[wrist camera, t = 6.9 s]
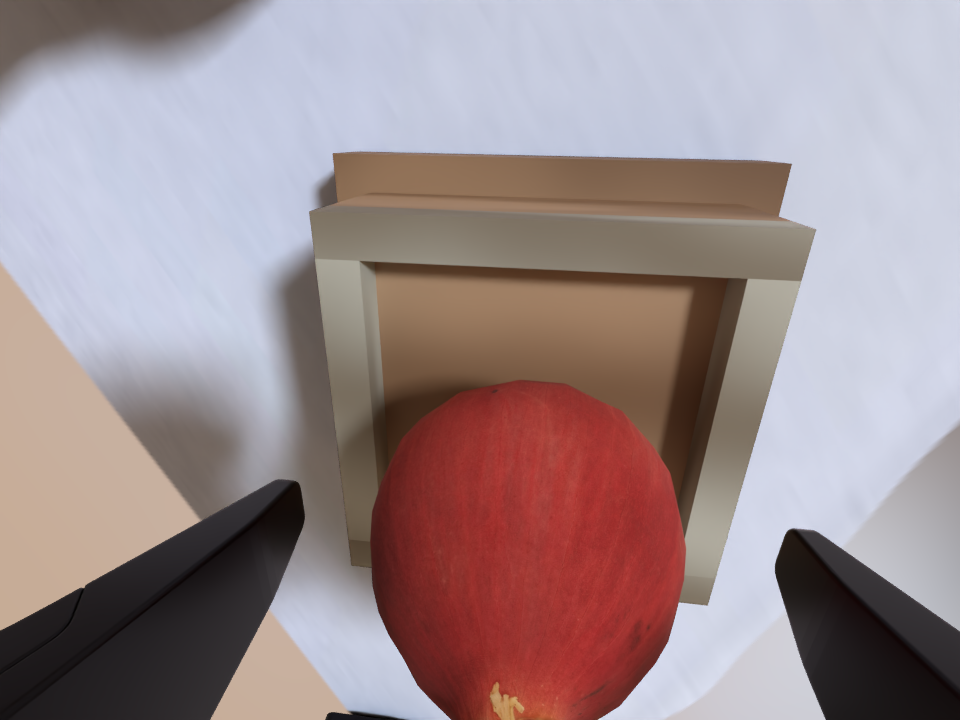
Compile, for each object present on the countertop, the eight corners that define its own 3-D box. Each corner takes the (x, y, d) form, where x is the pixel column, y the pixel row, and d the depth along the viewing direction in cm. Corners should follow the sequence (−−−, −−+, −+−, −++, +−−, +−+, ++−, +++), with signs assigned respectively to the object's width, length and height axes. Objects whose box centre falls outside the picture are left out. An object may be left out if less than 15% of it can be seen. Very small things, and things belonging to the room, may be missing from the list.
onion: (624, 521, 14) (700, 943, 7) (423, 497, 15) (301, 865, 7) (666, 331, 11) (862, 694, 4) (420, 311, 12) (228, 602, 5)
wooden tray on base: (683, 494, 19) (737, 635, 14) (382, 467, 20) (322, 586, 15) (760, 160, 14) (892, 173, 9) (357, 151, 16) (255, 158, 10)
